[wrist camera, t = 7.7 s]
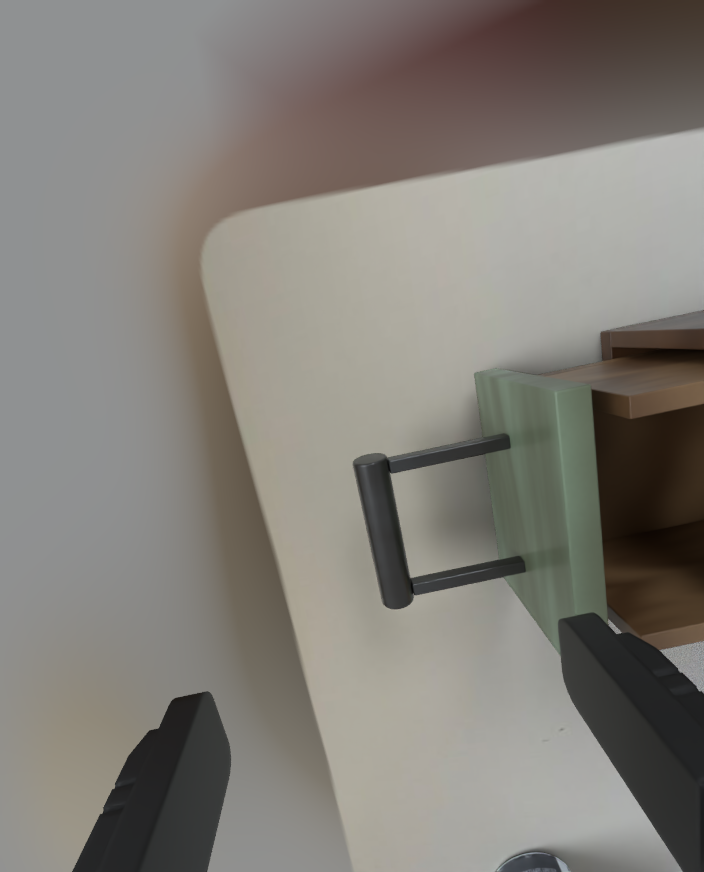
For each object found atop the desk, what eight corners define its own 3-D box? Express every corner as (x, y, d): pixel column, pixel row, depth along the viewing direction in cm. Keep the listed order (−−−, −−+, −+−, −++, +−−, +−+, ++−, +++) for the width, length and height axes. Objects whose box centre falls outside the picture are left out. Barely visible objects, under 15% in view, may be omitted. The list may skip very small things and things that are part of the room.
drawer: (382, 599, 23) (406, 724, 16) (340, 400, 21) (344, 435, 13) (738, 524, 23) (934, 614, 16) (740, 316, 21) (976, 302, 13)
